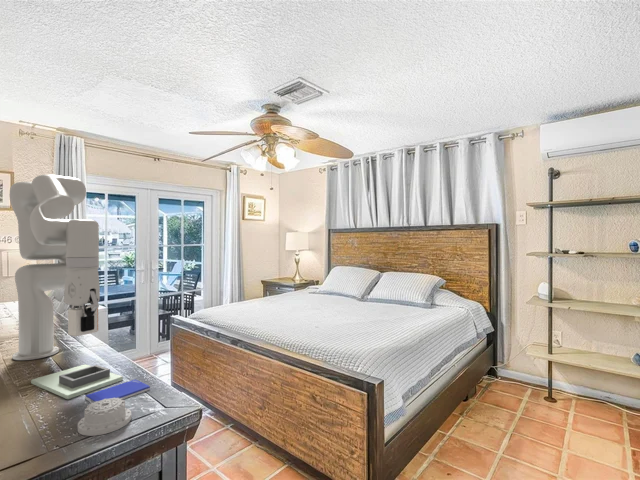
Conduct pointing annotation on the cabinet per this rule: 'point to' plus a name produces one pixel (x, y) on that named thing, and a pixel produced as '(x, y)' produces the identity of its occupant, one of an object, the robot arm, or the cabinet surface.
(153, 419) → the cabinet surface
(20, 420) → the cabinet surface
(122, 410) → the mechanical component
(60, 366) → the cabinet surface
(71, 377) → the socket board
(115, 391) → the hard drive
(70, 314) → the plug
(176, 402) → the cabinet surface
